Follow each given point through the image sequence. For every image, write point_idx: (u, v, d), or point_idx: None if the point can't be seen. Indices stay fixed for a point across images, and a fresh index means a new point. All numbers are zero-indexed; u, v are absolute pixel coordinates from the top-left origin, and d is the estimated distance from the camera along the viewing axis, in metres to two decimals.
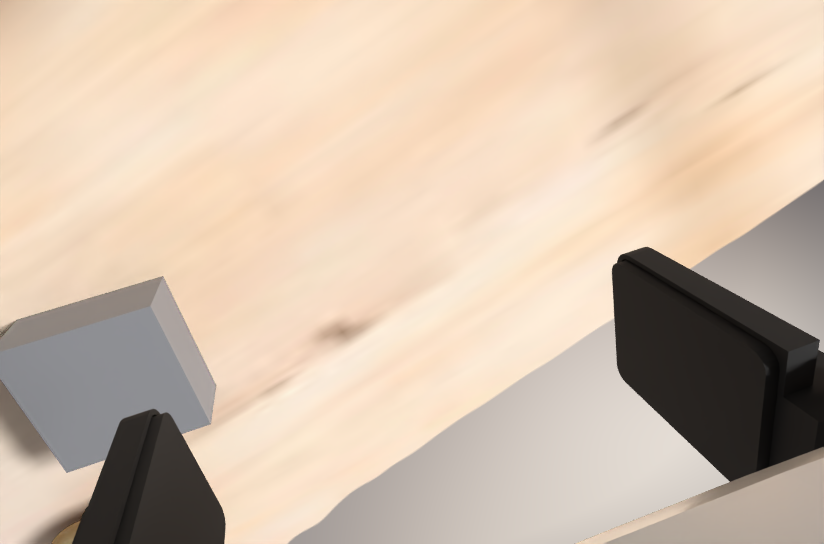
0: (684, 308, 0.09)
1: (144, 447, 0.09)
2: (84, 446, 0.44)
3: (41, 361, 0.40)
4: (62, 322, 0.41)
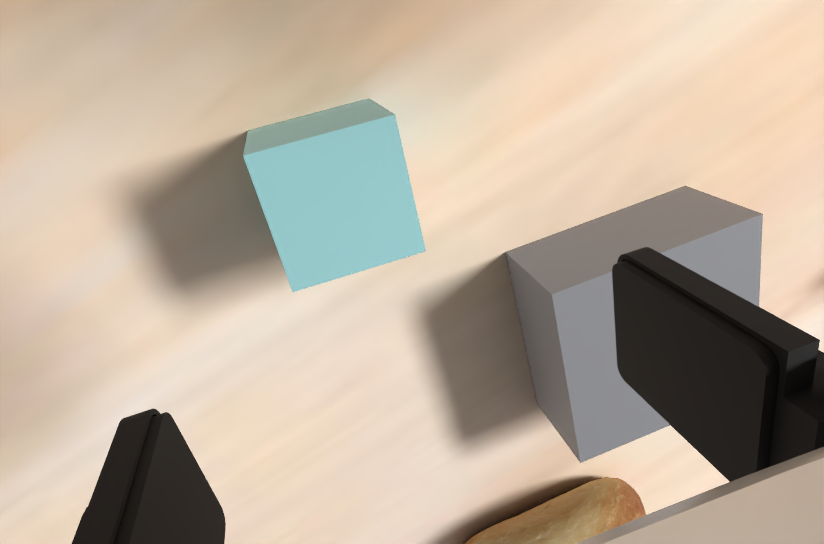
0: (684, 308, 0.09)
1: (144, 447, 0.09)
2: (612, 424, 0.31)
3: (612, 300, 0.27)
4: (616, 246, 0.29)
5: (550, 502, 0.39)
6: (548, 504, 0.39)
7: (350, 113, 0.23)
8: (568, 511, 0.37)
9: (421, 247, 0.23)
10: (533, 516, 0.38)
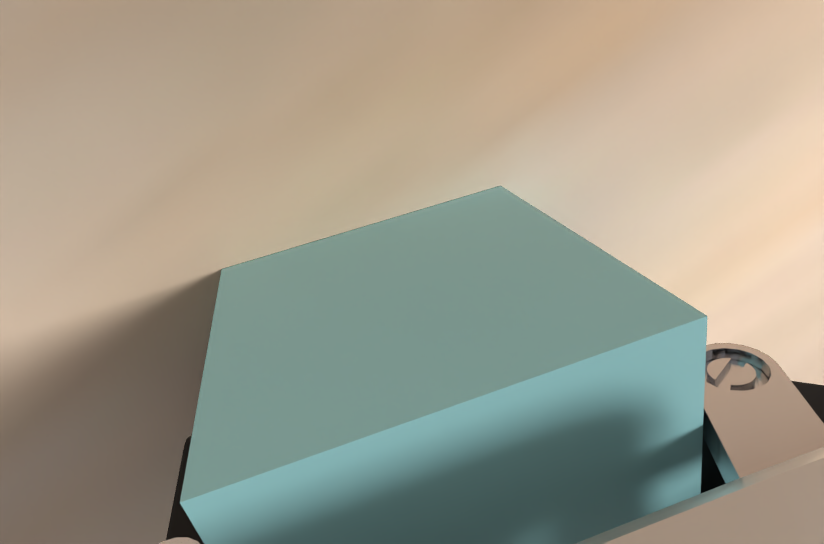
0: None
1: None
2: None
3: None
4: None
5: None
6: None
7: (495, 256, 0.09)
8: None
9: None
10: None
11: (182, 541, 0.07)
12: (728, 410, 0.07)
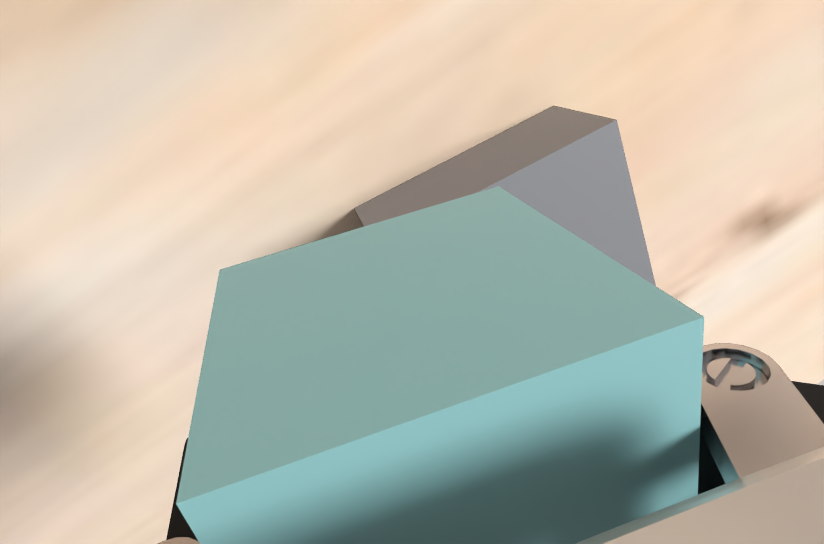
0: None
1: None
2: None
3: None
4: (458, 182, 0.25)
5: None
6: None
7: (493, 256, 0.09)
8: None
9: None
10: None
11: (182, 541, 0.07)
12: (728, 410, 0.07)
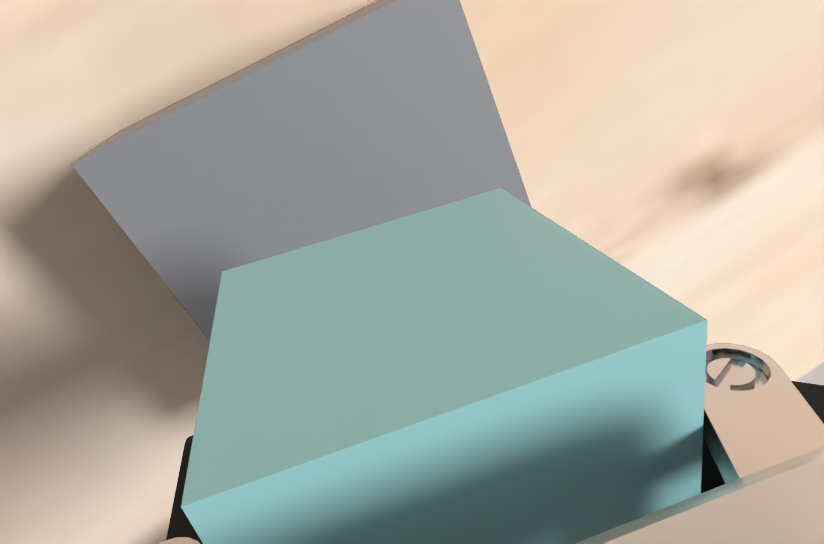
0: None
1: None
2: None
3: (207, 166, 0.16)
4: (231, 79, 0.17)
5: None
6: None
7: (495, 258, 0.09)
8: None
9: None
10: None
11: (182, 541, 0.07)
12: (728, 410, 0.07)
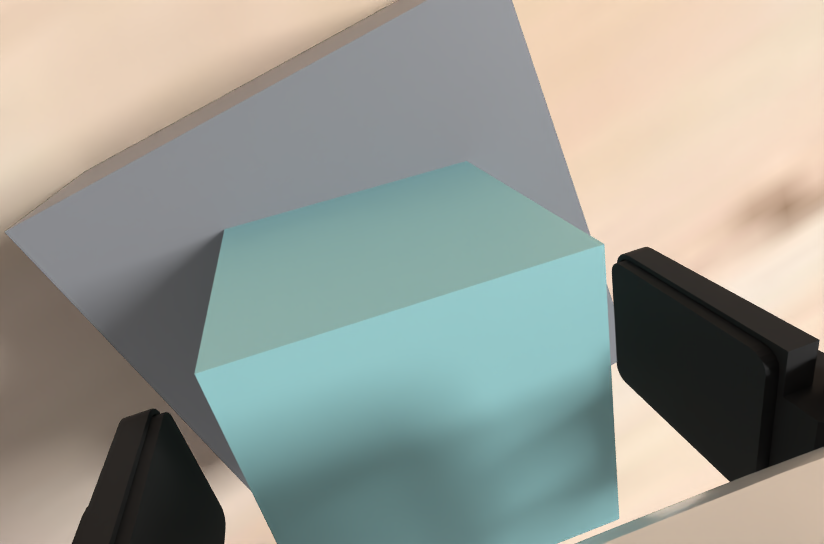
0: (684, 308, 0.09)
1: (144, 447, 0.09)
2: None
3: (186, 224, 0.12)
4: (216, 108, 0.13)
5: None
6: None
7: (453, 211, 0.10)
8: None
9: (611, 513, 0.10)
10: None
11: None
12: None
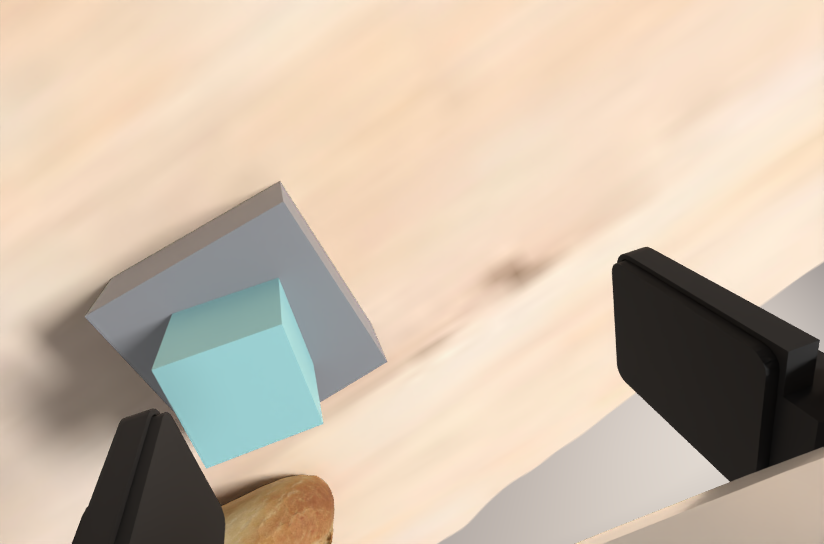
0: (684, 308, 0.09)
1: (144, 447, 0.09)
2: None
3: (158, 310, 0.29)
4: (172, 256, 0.30)
5: None
6: (231, 501, 0.39)
7: (254, 307, 0.27)
8: (234, 507, 0.37)
9: (319, 421, 0.27)
10: None
11: None
12: None
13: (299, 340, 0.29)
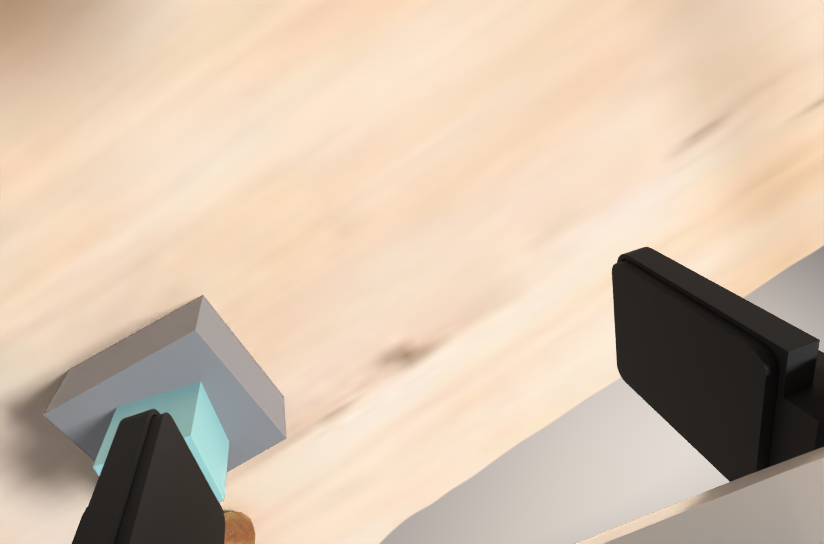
0: (684, 308, 0.09)
1: (144, 447, 0.09)
2: None
3: (99, 408, 0.38)
4: (112, 364, 0.39)
5: None
6: None
7: (175, 412, 0.36)
8: None
9: (220, 499, 0.36)
10: None
11: None
12: None
13: (213, 431, 0.39)
